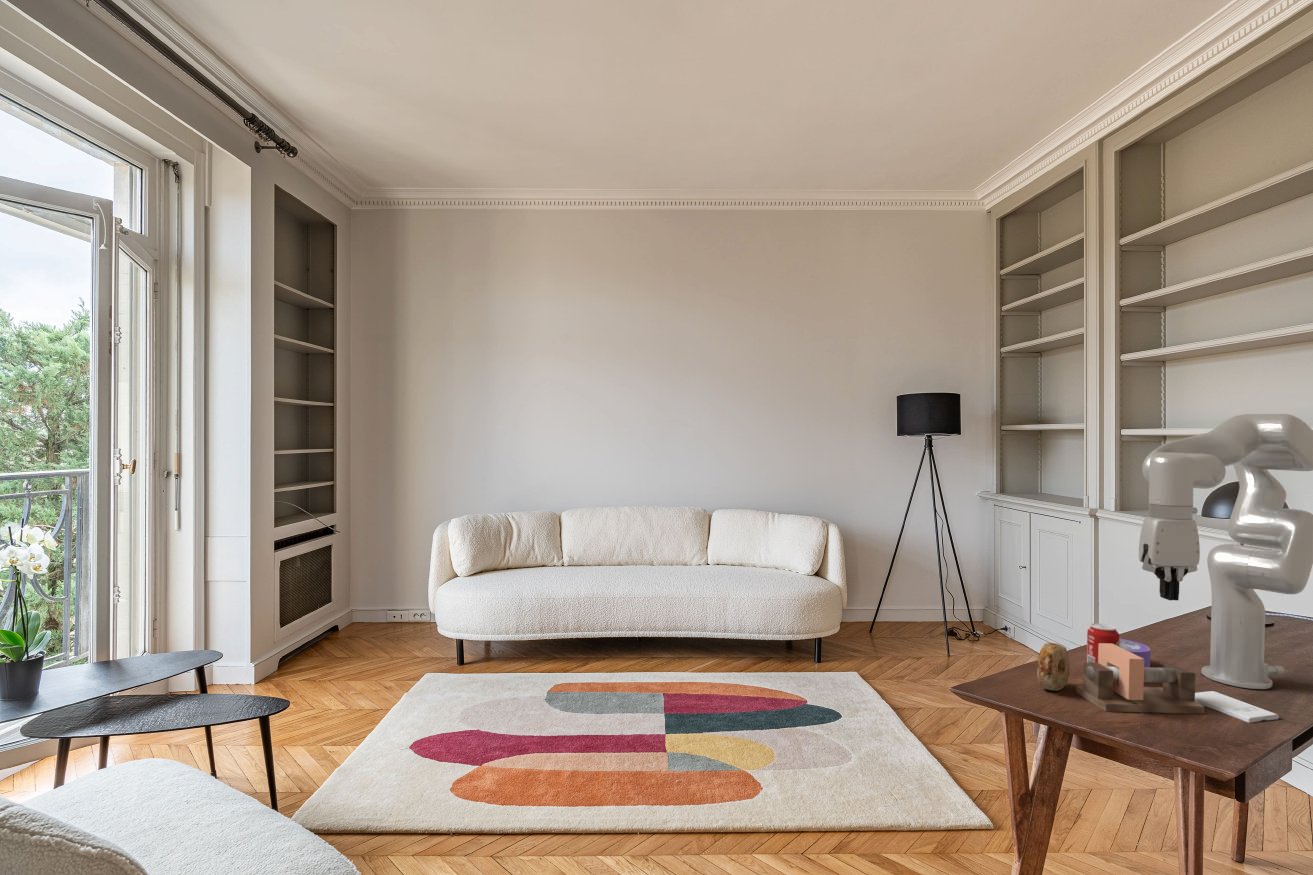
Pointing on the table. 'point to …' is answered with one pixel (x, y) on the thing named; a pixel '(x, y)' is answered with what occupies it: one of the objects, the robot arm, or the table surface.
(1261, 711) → the external hard drive
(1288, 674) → the table surface
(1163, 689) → the pipe stand
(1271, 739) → the table surface
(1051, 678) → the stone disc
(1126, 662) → the collar
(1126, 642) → the tape roll
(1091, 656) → the beverage can
